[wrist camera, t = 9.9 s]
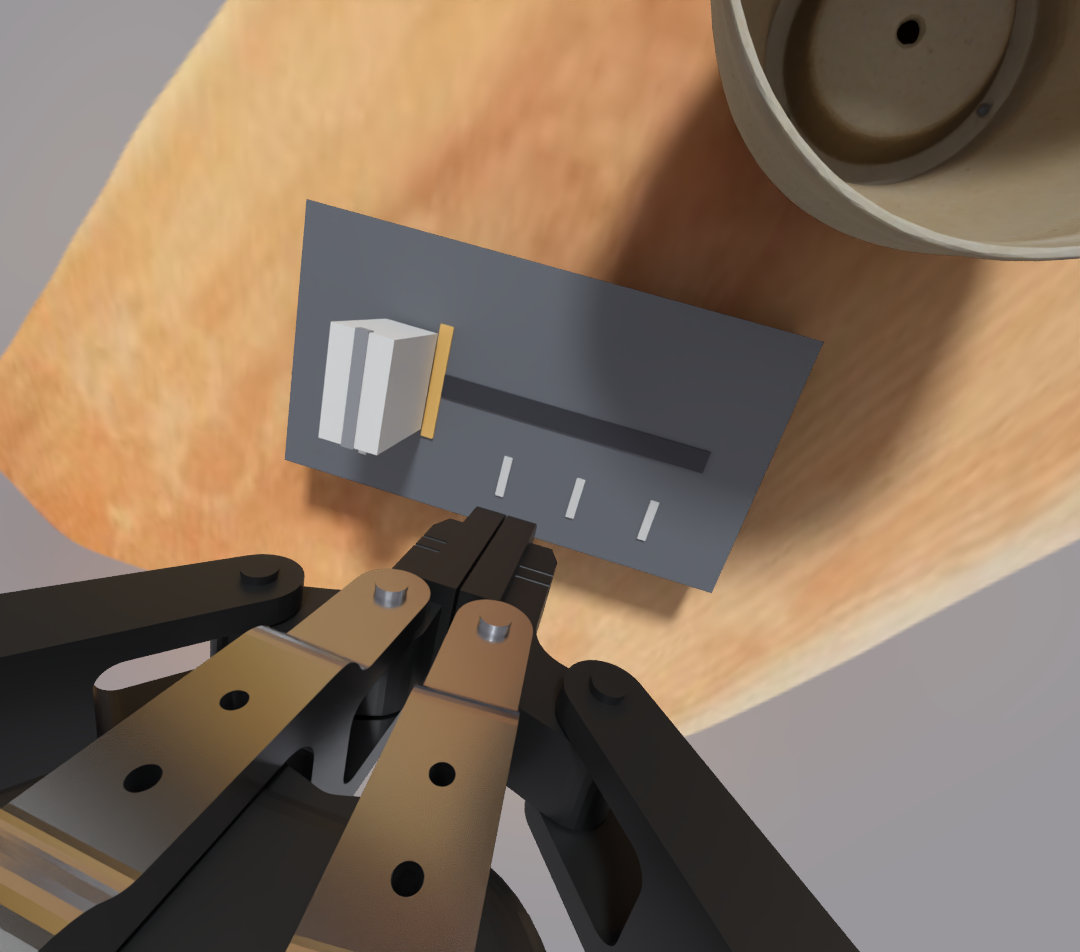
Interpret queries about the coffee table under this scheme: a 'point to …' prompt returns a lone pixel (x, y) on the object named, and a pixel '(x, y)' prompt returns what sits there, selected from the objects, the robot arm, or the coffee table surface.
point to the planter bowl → (915, 118)
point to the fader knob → (375, 383)
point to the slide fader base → (553, 395)
